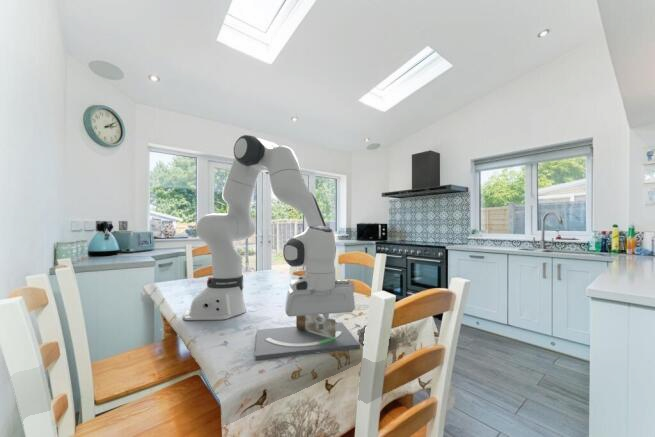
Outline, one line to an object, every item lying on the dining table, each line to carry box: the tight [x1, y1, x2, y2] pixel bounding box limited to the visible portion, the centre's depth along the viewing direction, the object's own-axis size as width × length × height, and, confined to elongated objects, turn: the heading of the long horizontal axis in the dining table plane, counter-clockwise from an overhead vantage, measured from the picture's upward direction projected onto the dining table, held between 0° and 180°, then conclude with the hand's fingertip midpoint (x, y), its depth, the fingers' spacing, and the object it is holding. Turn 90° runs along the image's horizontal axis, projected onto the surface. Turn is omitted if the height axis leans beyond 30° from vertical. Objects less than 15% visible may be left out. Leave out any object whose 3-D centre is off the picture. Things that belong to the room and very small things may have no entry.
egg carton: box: [356, 324, 367, 345], centre depth 82 cm, size 11×8×4 cm
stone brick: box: [295, 314, 336, 338], centre depth 84 cm, size 15×4×5 cm, turn 52°
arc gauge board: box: [254, 322, 361, 361], centre depth 82 cm, size 28×18×1 cm, turn 103°
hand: (320, 328), depth 80 cm, fingers closed
